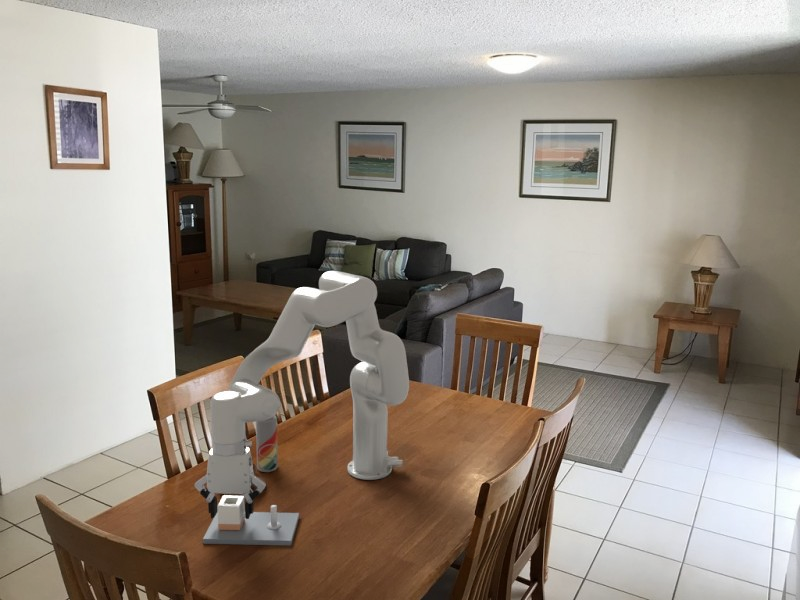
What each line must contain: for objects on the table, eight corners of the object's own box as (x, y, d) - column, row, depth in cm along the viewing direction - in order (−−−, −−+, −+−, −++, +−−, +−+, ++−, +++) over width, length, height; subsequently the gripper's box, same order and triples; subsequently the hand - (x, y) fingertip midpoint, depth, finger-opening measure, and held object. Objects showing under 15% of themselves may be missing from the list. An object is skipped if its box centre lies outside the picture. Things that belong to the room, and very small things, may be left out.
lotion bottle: (272, 473, 183) (271, 405, 179) (253, 471, 185) (252, 403, 180) (280, 464, 189) (279, 398, 185) (262, 462, 190) (260, 396, 186)
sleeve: (244, 518, 158) (244, 495, 156) (239, 530, 153) (239, 506, 151) (224, 518, 158) (223, 495, 156) (218, 529, 153) (217, 506, 151)
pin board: (299, 517, 161) (298, 494, 160) (291, 545, 150) (290, 520, 148) (217, 515, 161) (216, 492, 160) (203, 543, 150) (201, 518, 148)
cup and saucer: (215, 483, 178) (214, 461, 177) (260, 475, 182) (259, 455, 181) (222, 504, 167) (221, 481, 166) (269, 495, 172) (269, 473, 170)
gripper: (270, 439, 155) (271, 508, 158) (195, 437, 155) (199, 506, 158) (263, 453, 147) (265, 525, 151) (185, 451, 147) (189, 523, 151)
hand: (231, 515), depth 155 cm, fingers open, 7 cm apart
